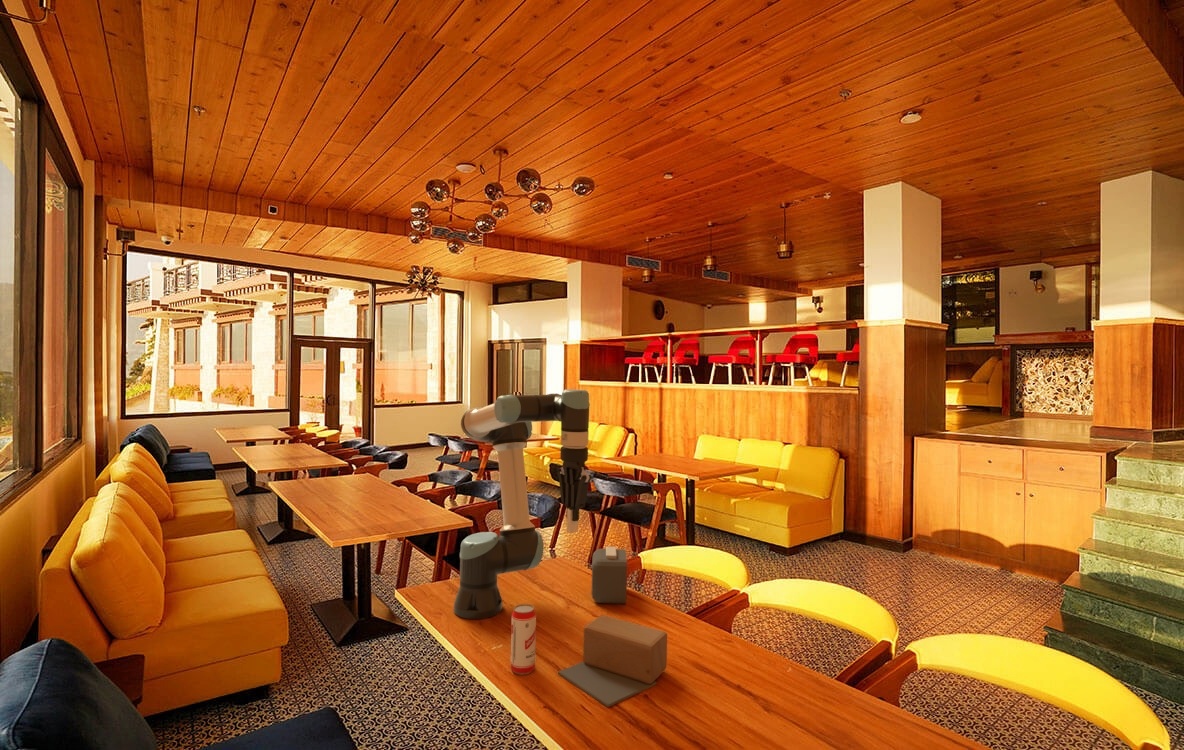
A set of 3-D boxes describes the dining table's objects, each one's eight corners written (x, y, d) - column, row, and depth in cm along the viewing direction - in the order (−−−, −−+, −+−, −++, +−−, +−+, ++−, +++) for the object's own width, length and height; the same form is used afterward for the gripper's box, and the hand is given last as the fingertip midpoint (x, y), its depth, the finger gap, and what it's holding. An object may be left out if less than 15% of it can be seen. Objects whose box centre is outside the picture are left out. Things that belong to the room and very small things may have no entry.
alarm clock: (626, 606, 200) (627, 559, 199) (591, 605, 200) (592, 558, 199) (624, 587, 216) (625, 543, 215) (591, 586, 216) (592, 542, 215)
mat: (557, 673, 156) (558, 671, 156) (605, 655, 167) (605, 652, 167) (607, 707, 142) (607, 704, 142) (656, 684, 152) (656, 682, 152)
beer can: (539, 666, 160) (540, 605, 160) (528, 678, 154) (529, 614, 154) (517, 661, 162) (518, 601, 162) (506, 673, 156) (507, 611, 156)
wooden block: (581, 664, 160) (651, 686, 150) (582, 626, 160) (652, 646, 150) (600, 648, 169) (667, 669, 159) (601, 612, 169) (668, 630, 158)
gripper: (549, 444, 171) (547, 528, 172) (578, 450, 161) (575, 540, 162) (571, 442, 176) (569, 524, 176) (600, 448, 165) (597, 535, 166)
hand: (572, 531), depth 169 cm, fingers closed
